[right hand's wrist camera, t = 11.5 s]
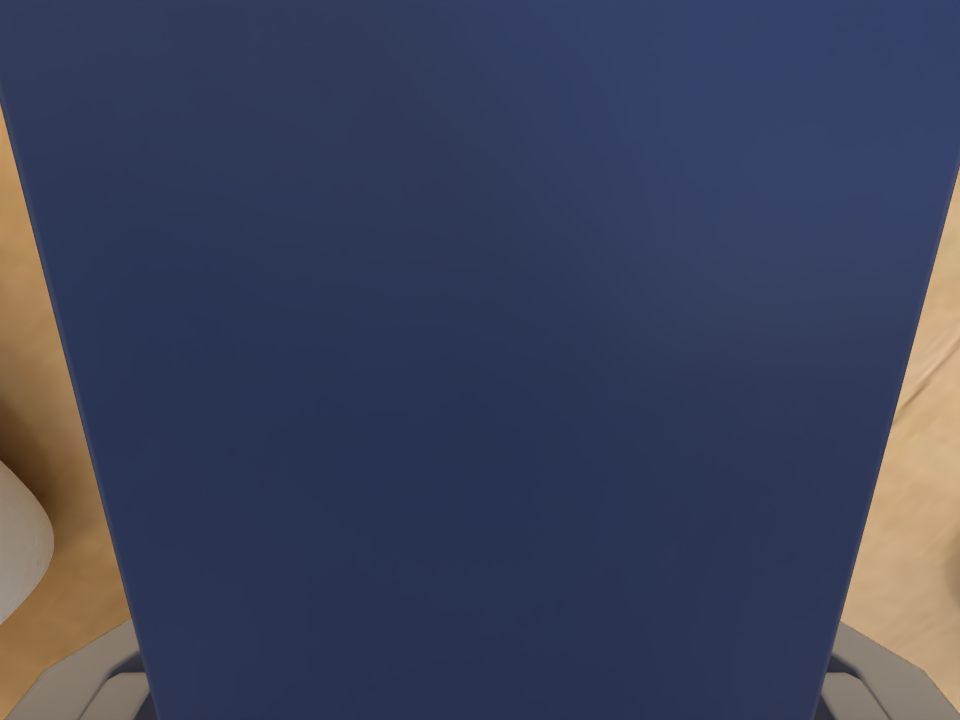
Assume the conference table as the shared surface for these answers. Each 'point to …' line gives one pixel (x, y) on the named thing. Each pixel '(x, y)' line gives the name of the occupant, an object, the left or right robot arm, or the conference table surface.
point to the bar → (485, 335)
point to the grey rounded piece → (21, 542)
